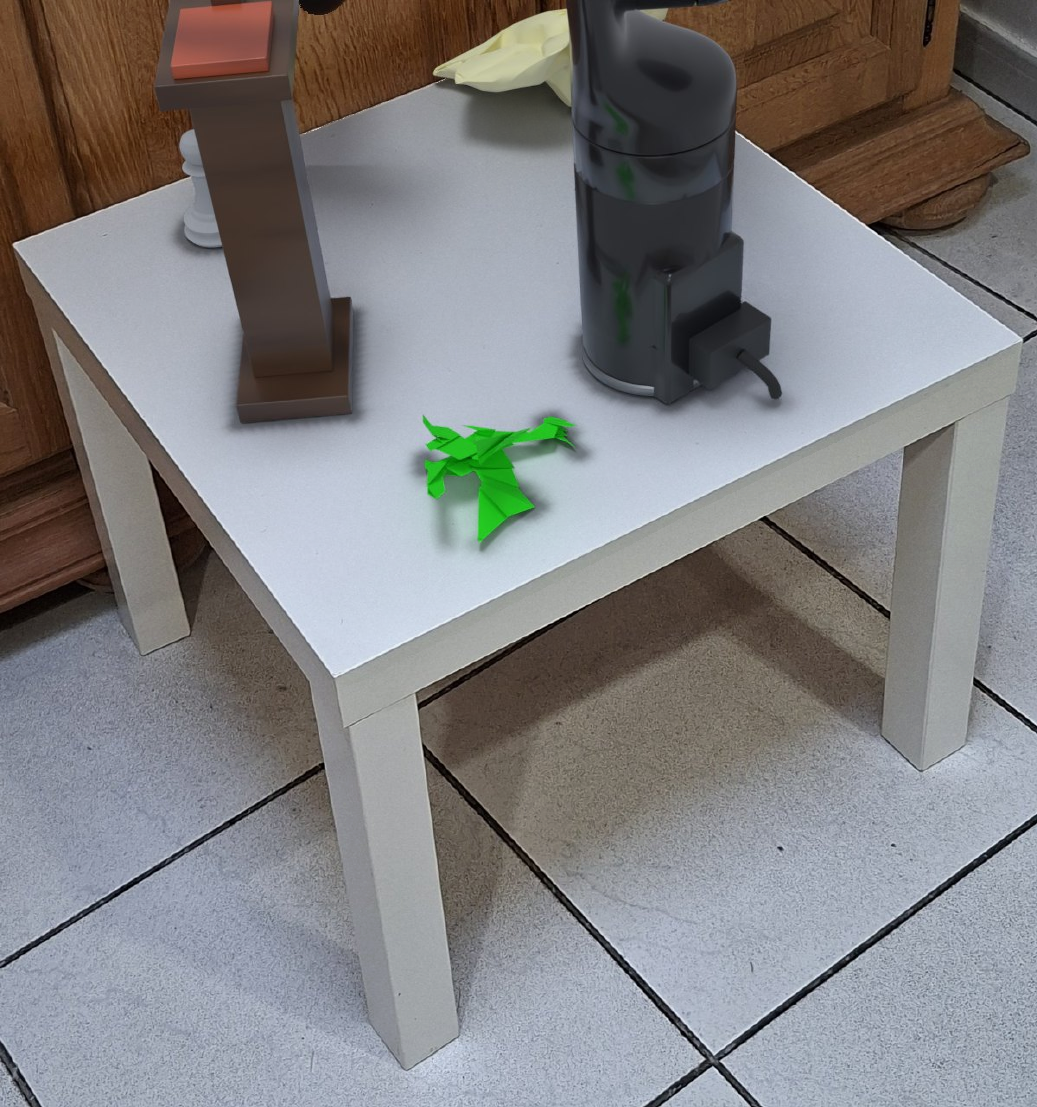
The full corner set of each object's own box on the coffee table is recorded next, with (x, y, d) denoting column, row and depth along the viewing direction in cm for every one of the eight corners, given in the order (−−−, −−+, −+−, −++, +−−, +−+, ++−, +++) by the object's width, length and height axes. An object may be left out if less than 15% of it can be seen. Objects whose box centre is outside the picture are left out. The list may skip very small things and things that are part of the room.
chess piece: (196, 208, 118) (171, 111, 112) (258, 211, 117) (237, 113, 112) (176, 248, 115) (150, 149, 109) (241, 250, 114) (218, 152, 108)
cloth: (427, 57, 131) (455, 129, 134) (438, 97, 114) (470, 179, 117) (687, -50, 130) (710, 25, 132) (737, -24, 113) (763, 61, 116)
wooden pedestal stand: (249, 322, 109) (170, -8, 91) (354, 313, 108) (295, -19, 91) (240, 423, 102) (153, 86, 85) (351, 414, 102) (287, 74, 84)
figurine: (435, 459, 102) (581, 464, 101) (401, 547, 92) (564, 554, 91) (431, 366, 99) (581, 370, 98) (396, 446, 89) (564, 452, 88)
